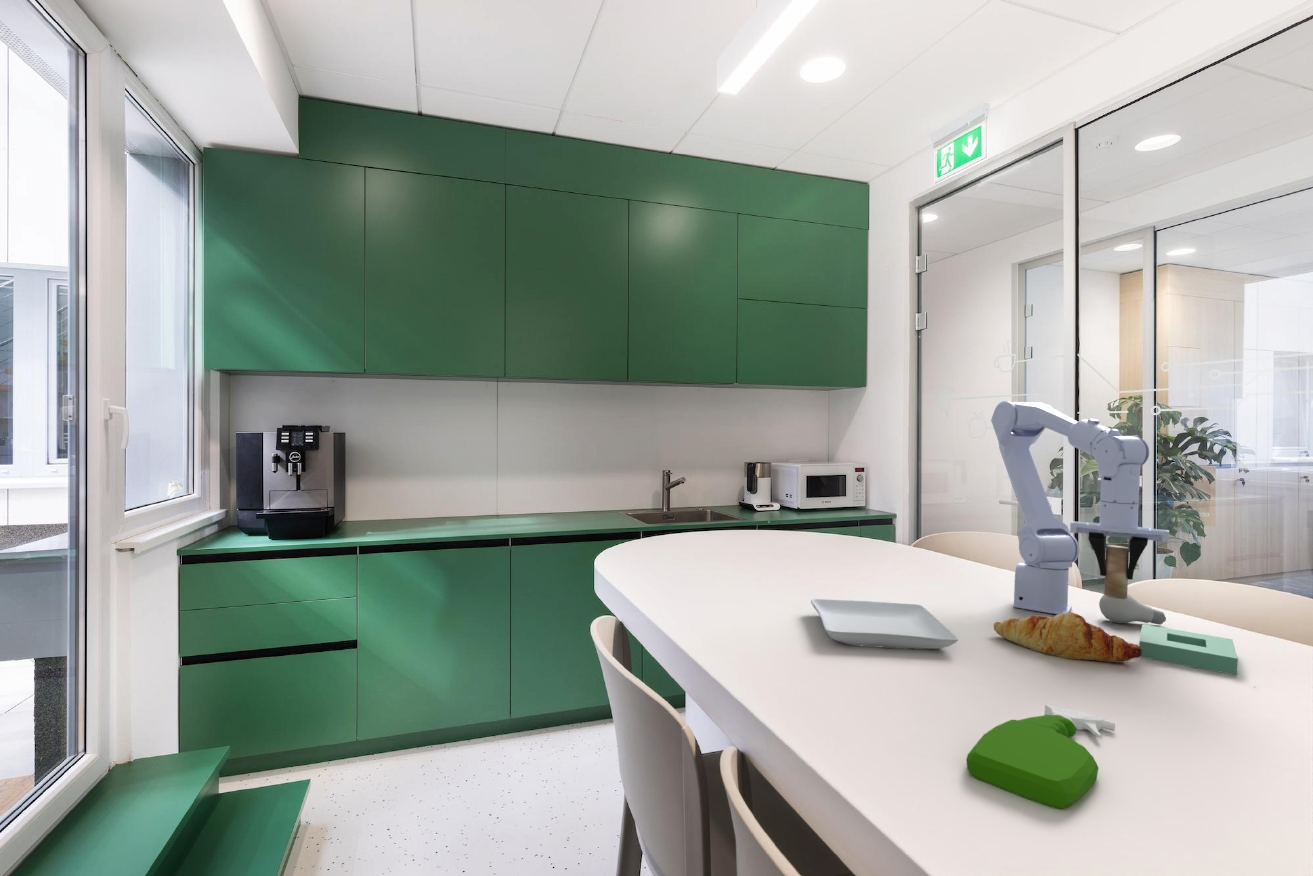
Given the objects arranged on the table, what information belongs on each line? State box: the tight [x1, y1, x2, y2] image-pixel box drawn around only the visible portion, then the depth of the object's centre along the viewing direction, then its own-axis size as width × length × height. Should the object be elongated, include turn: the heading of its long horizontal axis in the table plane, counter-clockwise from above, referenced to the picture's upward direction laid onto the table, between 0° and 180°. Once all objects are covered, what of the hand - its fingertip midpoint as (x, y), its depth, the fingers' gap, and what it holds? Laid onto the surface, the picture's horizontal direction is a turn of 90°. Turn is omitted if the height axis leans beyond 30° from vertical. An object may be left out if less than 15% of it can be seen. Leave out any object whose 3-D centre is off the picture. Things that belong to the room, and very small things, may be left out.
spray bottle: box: [966, 703, 1116, 810], centre depth 74 cm, size 3×11×24 cm
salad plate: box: [810, 598, 959, 650], centre depth 116 cm, size 21×21×3 cm
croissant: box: [993, 611, 1142, 663], centre depth 108 cm, size 21×10×8 cm, turn 51°
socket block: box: [1138, 623, 1239, 675], centre depth 107 cm, size 12×12×2 cm
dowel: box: [1103, 544, 1130, 599], centre depth 118 cm, size 3×3×9 cm
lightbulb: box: [1098, 593, 1167, 626], centre depth 125 cm, size 6×6×11 cm
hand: (1116, 576), depth 118 cm, fingers closed on dowel, 3 cm apart
